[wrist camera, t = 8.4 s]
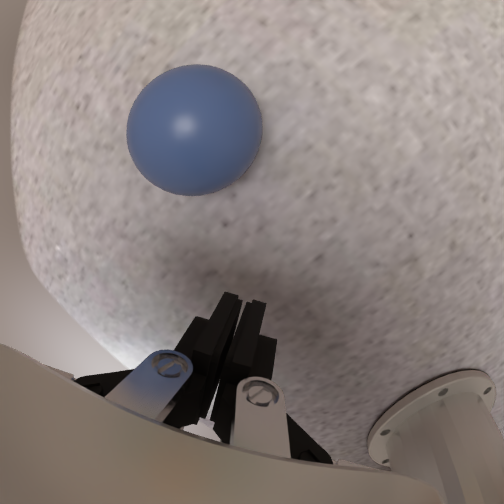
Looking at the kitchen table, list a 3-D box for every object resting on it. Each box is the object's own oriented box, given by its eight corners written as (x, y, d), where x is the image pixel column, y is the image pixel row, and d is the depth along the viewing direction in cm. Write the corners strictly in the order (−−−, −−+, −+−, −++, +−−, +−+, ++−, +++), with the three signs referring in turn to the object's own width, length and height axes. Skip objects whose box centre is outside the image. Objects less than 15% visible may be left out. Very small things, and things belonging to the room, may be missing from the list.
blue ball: (227, 74, 7) (308, 108, 11) (130, 40, 8) (218, 66, 13) (160, 236, 10) (250, 212, 14) (91, 161, 11) (179, 156, 16)
